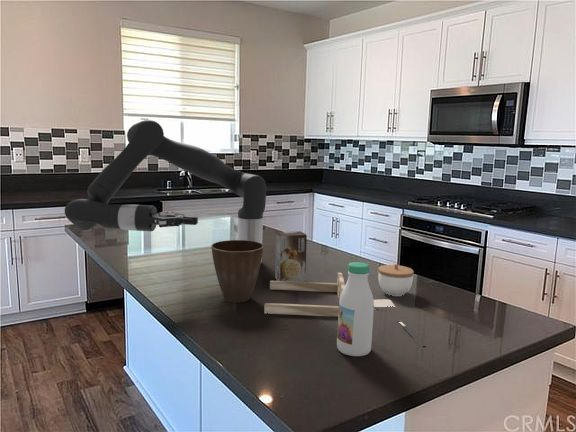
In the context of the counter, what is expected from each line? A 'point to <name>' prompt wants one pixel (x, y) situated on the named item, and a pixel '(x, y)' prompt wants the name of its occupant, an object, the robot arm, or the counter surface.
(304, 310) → the wooden frame
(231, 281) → the plant pot
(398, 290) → the lidded jar
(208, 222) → the counter surface
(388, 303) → the spatula
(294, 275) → the coffee box
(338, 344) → the milk bottle
